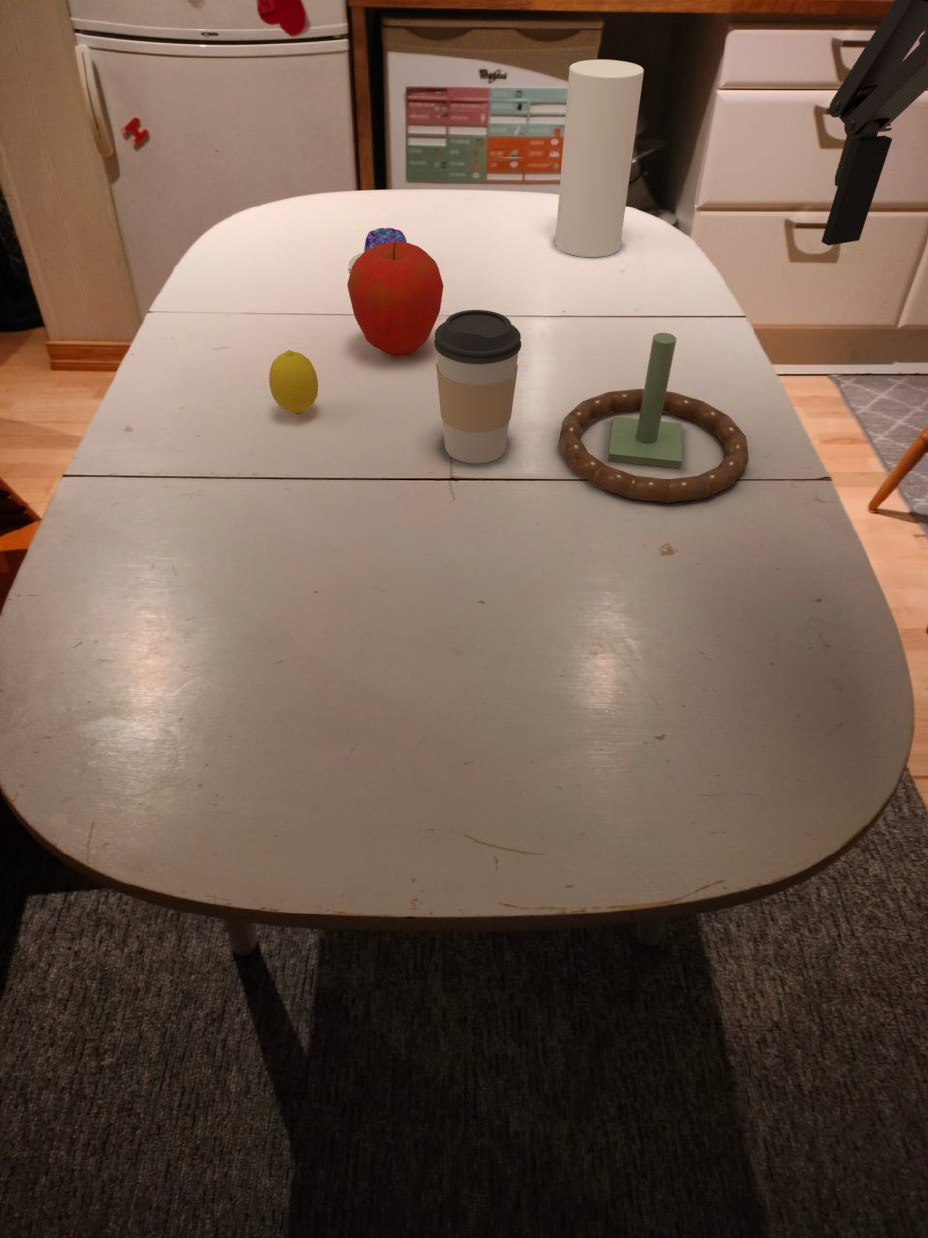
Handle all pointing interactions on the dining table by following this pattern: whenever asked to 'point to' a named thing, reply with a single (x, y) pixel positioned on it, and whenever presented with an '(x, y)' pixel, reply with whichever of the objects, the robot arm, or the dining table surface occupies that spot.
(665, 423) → the post
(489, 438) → the coffee cup
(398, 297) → the apple
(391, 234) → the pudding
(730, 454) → the ring
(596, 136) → the tall pillar cylinder
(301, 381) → the lemon
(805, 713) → the dining table surface
